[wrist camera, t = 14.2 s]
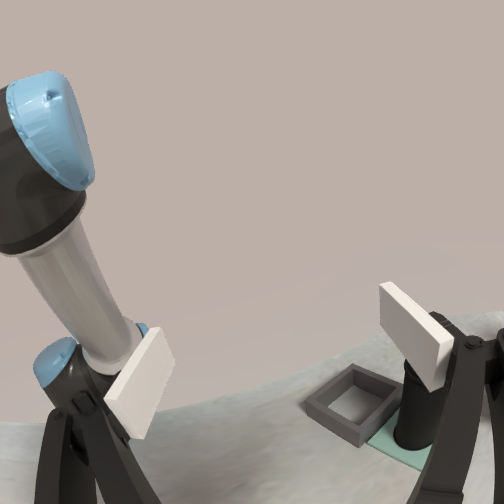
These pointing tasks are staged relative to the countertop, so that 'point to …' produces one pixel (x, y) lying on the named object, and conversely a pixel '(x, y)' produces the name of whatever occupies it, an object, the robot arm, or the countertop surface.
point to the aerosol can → (418, 412)
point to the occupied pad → (389, 447)
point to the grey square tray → (342, 383)
